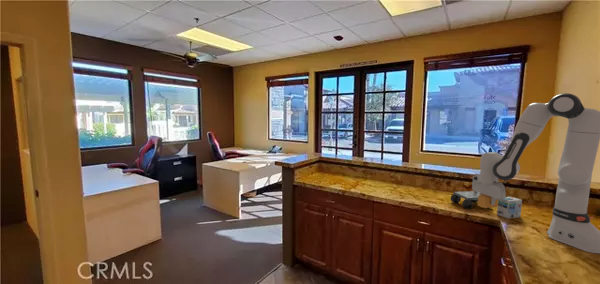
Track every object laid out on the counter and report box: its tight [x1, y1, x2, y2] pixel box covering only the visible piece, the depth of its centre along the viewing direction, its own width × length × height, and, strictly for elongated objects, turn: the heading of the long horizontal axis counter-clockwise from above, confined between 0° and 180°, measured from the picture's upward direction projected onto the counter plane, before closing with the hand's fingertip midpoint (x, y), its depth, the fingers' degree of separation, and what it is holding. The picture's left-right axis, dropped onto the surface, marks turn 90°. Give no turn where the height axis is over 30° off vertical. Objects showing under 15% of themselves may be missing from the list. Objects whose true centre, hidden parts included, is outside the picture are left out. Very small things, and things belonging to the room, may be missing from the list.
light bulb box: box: [496, 196, 523, 219], centre depth 157 cm, size 11×7×11 cm, turn 105°
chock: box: [477, 195, 498, 209], centre depth 154 cm, size 5×8×6 cm, turn 97°
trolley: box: [450, 173, 480, 210], centre depth 174 cm, size 13×20×20 cm, turn 97°
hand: (487, 202), depth 154 cm, fingers closed on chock, 5 cm apart
